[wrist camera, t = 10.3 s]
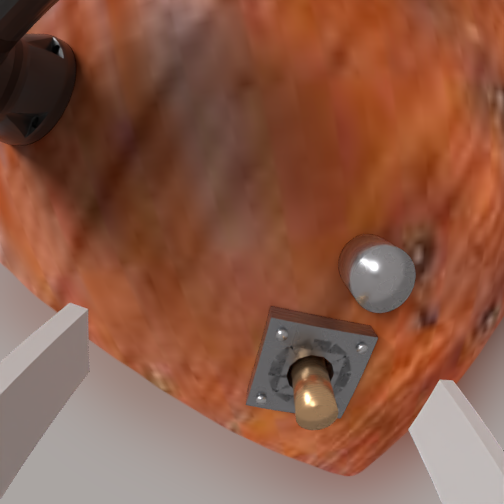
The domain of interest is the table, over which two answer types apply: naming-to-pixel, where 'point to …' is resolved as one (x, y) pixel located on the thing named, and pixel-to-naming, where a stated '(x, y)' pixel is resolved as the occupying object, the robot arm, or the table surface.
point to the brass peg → (313, 393)
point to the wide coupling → (376, 273)
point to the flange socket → (305, 344)
